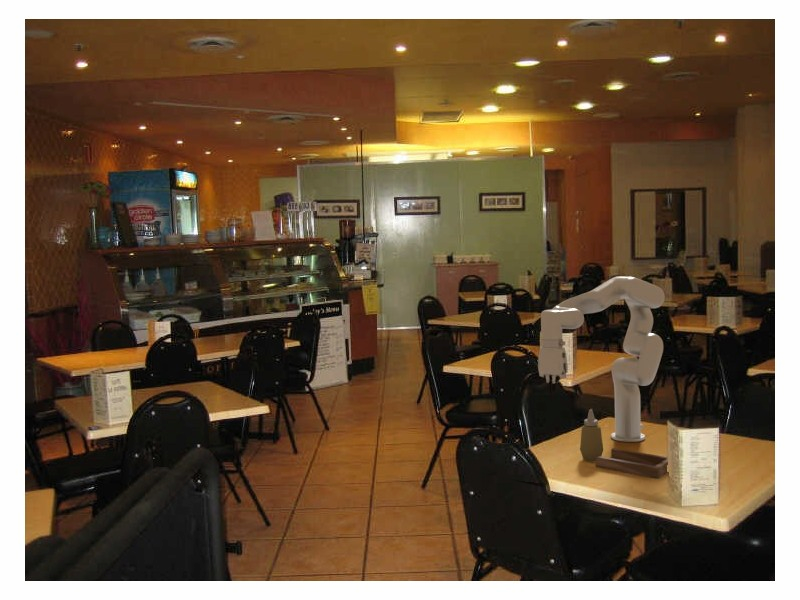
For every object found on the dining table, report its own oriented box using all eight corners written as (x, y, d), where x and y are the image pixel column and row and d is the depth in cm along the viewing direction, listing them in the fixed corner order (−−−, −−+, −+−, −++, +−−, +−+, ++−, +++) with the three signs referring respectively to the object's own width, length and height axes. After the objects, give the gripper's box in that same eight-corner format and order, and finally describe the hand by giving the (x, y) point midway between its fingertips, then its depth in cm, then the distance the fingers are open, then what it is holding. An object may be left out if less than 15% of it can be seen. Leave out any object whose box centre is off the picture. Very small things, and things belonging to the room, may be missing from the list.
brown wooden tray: (613, 457, 269) (613, 448, 268) (674, 468, 254) (674, 458, 254) (595, 466, 259) (595, 456, 259) (657, 478, 244) (657, 468, 244)
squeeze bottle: (604, 463, 262) (603, 412, 261) (580, 463, 264) (579, 412, 262) (602, 456, 270) (601, 407, 269) (579, 456, 272) (578, 407, 270)
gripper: (575, 343, 272) (576, 393, 273) (539, 341, 282) (540, 389, 283) (564, 346, 266) (565, 397, 267) (528, 343, 276) (529, 392, 277)
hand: (552, 393), depth 275 cm, fingers closed
